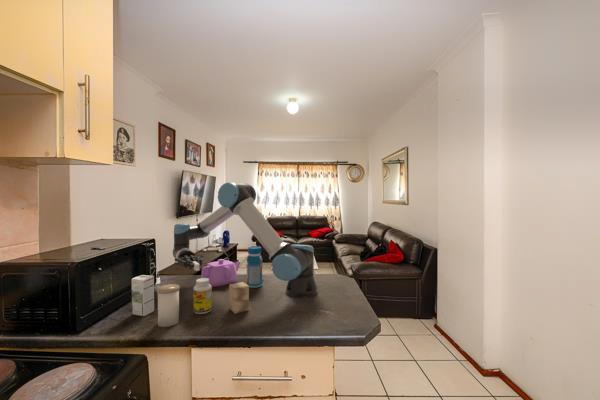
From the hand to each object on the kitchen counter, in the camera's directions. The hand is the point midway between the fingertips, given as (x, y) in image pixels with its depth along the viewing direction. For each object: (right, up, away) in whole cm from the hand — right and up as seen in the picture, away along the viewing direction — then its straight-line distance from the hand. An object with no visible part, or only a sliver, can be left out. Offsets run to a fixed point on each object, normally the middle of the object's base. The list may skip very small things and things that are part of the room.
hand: (197, 267), depth 117 cm
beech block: (+18, -16, -4) cm, 25 cm away
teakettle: (+1, -16, +33) cm, 36 cm away
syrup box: (-19, -16, -8) cm, 26 cm away
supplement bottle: (+4, -16, -6) cm, 18 cm away
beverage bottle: (+20, -16, +26) cm, 37 cm away
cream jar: (-5, -16, -16) cm, 23 cm away
